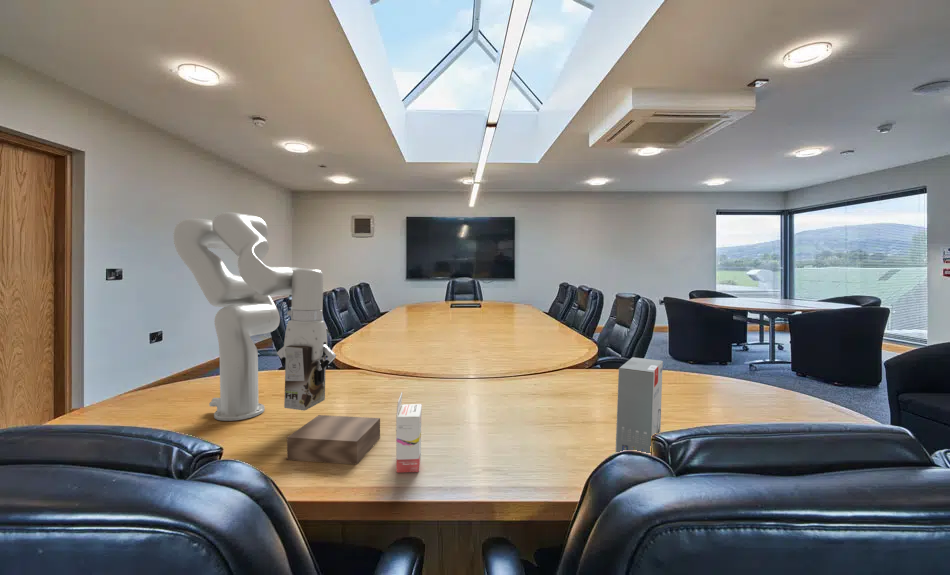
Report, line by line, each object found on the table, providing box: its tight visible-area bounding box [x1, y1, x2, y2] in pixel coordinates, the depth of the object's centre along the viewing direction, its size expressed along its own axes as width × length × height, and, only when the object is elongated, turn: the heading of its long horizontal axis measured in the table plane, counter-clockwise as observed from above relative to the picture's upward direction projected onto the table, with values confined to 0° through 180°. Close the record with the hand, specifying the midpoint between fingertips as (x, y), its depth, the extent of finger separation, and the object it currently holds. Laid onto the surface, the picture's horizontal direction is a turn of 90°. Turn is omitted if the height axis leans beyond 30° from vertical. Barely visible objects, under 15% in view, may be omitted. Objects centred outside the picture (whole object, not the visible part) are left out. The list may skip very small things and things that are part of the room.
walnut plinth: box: [286, 414, 381, 465], centre depth 95 cm, size 16×14×5 cm
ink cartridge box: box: [395, 391, 423, 474], centre depth 88 cm, size 9×5×15 cm, turn 5°
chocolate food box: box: [283, 346, 327, 412], centre depth 108 cm, size 9×6×16 cm
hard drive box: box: [615, 356, 664, 453], centre depth 97 cm, size 16×8×20 cm, turn 148°
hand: (305, 382), depth 108 cm, fingers closed on chocolate food box, 6 cm apart
